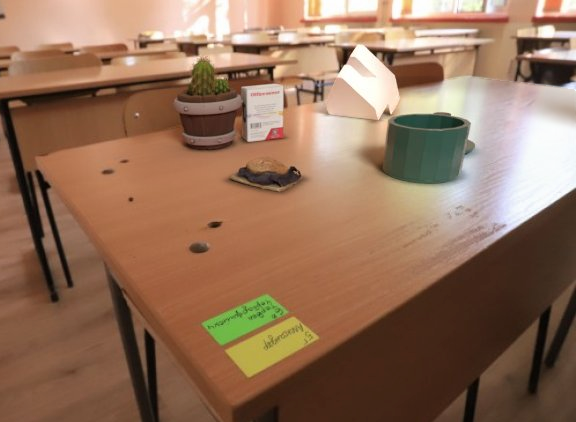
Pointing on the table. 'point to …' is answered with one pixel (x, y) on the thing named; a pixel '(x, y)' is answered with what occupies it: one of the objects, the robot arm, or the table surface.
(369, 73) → the slotted wedge
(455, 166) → the tin
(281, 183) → the bread roll
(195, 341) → the table surface
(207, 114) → the flowerpot
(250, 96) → the ink box
